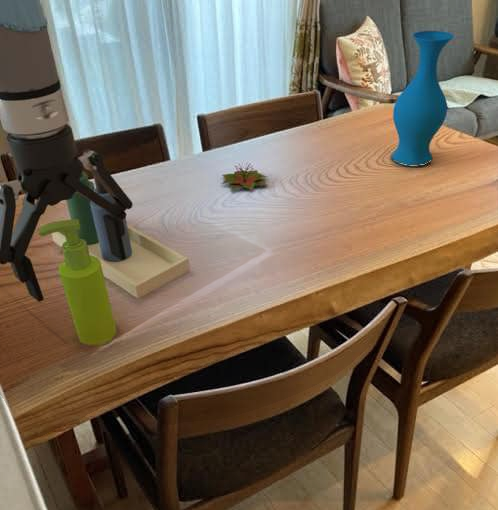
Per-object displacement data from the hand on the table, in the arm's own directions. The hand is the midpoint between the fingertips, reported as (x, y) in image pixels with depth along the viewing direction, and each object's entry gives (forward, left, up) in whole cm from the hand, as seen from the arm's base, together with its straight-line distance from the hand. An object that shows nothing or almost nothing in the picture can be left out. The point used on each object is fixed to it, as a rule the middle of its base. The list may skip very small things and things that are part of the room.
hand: (79, 276), depth 77 cm
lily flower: (-21, +55, -12) cm, 60 cm away
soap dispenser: (0, 0, -12) cm, 12 cm away
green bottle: (-26, +16, -11) cm, 32 cm away
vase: (+1, +92, -12) cm, 93 cm away
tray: (-16, +16, -12) cm, 25 cm away
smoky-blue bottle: (-17, +16, -11) cm, 25 cm away
